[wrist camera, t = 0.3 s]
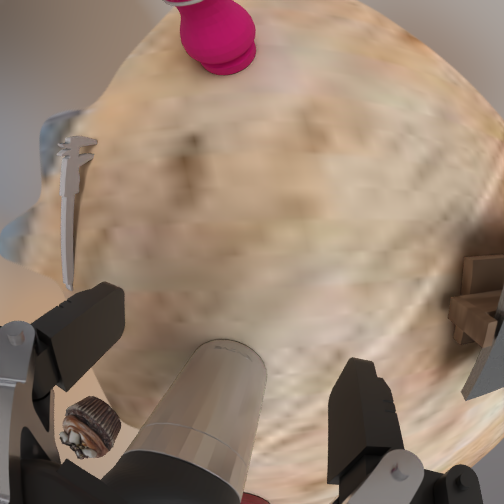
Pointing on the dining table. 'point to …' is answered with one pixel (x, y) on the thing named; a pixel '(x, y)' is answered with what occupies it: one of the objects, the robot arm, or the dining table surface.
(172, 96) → the dining table surface
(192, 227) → the dining table surface
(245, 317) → the dining table surface
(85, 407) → the cupcake
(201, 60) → the pepper mill
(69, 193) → the caliper
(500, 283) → the stand
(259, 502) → the canister
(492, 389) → the brushed metal stamp
